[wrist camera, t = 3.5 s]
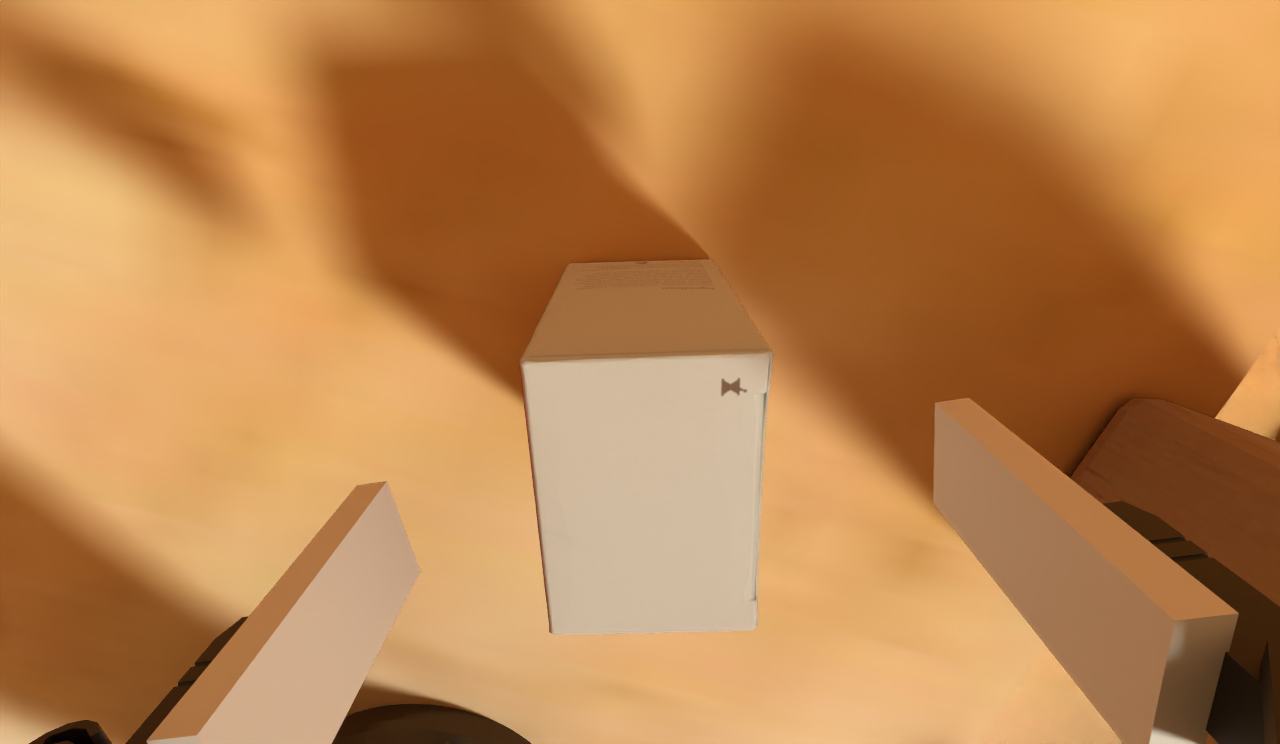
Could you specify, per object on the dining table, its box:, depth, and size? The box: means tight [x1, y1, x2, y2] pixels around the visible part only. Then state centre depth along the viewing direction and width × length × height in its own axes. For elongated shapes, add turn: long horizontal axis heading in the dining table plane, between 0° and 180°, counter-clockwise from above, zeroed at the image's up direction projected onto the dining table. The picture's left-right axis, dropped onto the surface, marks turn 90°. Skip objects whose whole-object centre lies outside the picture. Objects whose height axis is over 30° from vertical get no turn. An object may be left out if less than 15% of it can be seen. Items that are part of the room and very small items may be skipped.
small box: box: [519, 259, 773, 634], centre depth 19 cm, size 8×6×10 cm
